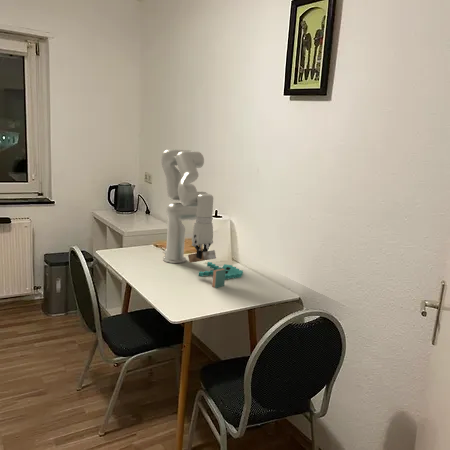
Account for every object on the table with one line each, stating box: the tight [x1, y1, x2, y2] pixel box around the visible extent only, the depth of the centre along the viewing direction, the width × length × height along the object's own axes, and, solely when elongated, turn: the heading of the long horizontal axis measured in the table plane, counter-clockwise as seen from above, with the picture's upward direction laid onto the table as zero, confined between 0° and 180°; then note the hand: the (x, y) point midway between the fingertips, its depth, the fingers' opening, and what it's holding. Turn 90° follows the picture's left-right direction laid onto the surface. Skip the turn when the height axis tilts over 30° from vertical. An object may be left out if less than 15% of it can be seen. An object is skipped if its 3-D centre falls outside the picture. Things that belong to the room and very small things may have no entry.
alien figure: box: [198, 261, 244, 280], centre depth 233 cm, size 20×2×20 cm
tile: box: [211, 267, 226, 289], centre depth 212 cm, size 2×6×8 cm, turn 136°
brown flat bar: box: [187, 249, 217, 264], centre depth 218 cm, size 16×3×4 cm, turn 46°
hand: (201, 257), depth 218 cm, fingers closed on brown flat bar, 3 cm apart
